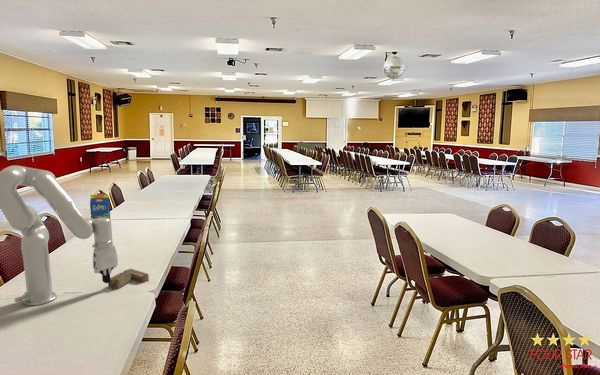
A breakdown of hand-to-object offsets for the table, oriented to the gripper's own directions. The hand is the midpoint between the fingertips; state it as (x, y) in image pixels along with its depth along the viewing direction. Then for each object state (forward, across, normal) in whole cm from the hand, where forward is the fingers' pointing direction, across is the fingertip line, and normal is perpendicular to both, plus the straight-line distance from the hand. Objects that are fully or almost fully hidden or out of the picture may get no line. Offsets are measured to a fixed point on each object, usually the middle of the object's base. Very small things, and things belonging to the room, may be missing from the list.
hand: (106, 282), depth 197 cm
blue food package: (+4, +67, +112) cm, 131 cm away
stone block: (+4, +7, 0) cm, 8 cm away
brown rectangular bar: (+4, +16, 0) cm, 16 cm away
